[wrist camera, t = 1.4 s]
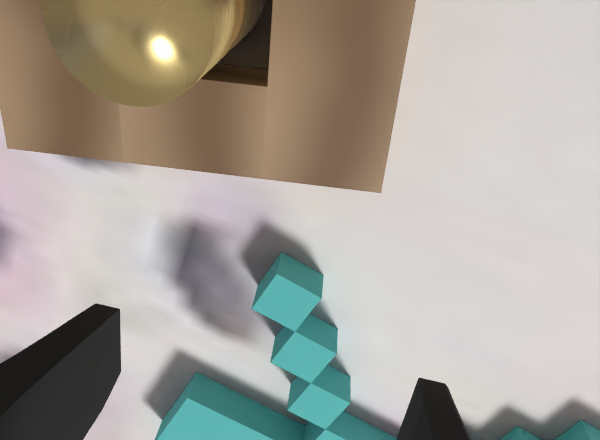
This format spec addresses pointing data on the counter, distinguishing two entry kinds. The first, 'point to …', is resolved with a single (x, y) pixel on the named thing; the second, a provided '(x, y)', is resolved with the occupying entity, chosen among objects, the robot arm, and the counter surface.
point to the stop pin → (145, 43)
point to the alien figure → (306, 386)
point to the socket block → (229, 100)
